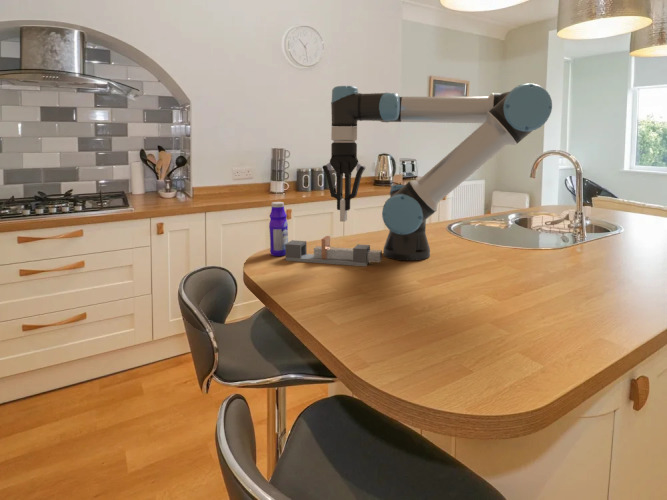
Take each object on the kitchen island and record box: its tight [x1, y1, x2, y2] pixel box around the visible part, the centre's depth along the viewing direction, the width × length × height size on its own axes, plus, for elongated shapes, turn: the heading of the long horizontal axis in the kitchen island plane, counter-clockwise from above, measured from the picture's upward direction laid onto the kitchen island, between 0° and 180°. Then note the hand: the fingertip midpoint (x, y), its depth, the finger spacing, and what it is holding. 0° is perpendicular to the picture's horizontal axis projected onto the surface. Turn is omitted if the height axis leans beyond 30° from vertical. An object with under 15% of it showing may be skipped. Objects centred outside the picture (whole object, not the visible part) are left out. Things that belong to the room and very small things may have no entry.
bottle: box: [268, 201, 289, 257], centre depth 155 cm, size 7×6×17 cm
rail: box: [285, 239, 371, 267], centre depth 148 cm, size 26×6×5 cm, turn 74°
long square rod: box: [313, 235, 383, 263], centre depth 146 cm, size 21×5×6 cm, turn 74°
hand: (343, 220), depth 144 cm, fingers closed
